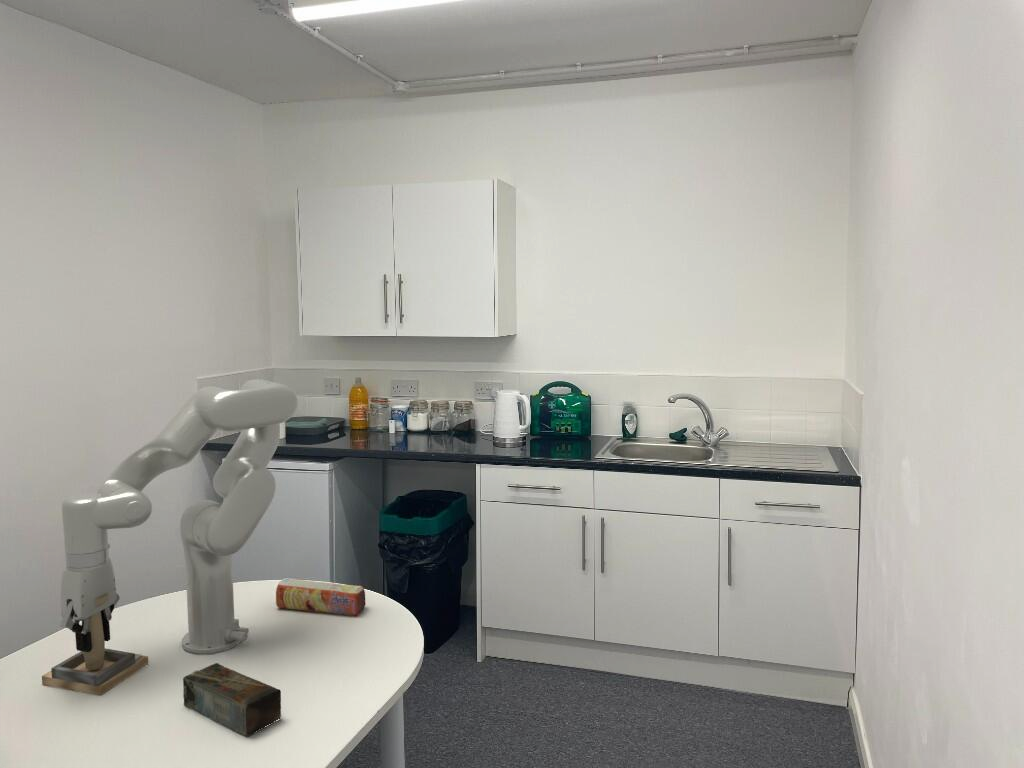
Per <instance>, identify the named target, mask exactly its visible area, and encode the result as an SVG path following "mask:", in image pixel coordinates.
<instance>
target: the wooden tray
mask: <svg viewBox="0 0 1024 768" xmlns="http://www.w3.org/2000/svg"><path fill="white" fill-rule="evenodd" d="M103 659H104V665H103V666H102V667H101V668H100V669H95V670H89V669H87V668H86V666H85V659H84V655H83V651H78V653H77V652H76V654H74V655H73V656H69V658H67V659H64V660H63V661H61V662H60V663H58V664H56V665H55V666H53V667H51V668H50V669H51V670H50V671H48V672H46V673H44V674H43V675H41V685H43V686H49V687H51V688H52V687H53V688H58V689H63V690H64V689H65V690H67V691H68V690H69V691H73V692H80V693H84V694H91V695H96V696H103V695H104V694H105V693H107V692H108V691H110V690H112V689H113V688H115V687H116V686H118V685H119V684H121V683H122V682H124V681H125V680H127V679H128V678H130V677H131V676H133V675H135V674H136V673H138V672H140V671H141V670H143V669H144V668H145V667H147V666H148V665H149V656H147V655H142V654H138V653H135V652H129V651H123V650H117V649H111V648H106V647H105V653H104V658H103ZM146 665H147V666H146Z"/></svg>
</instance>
